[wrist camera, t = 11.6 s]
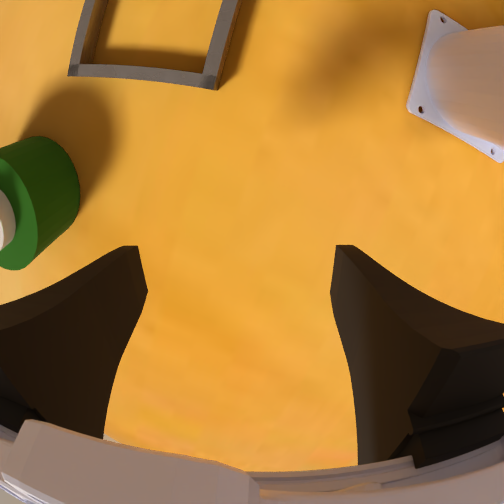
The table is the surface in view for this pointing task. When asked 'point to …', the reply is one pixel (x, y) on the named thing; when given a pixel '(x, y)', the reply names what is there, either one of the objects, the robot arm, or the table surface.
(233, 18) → the c bracket
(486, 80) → the robot arm
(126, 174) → the table surface
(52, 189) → the candle
